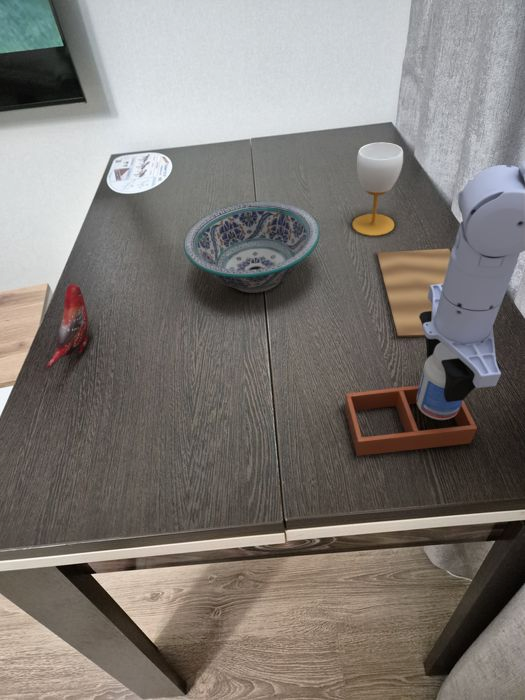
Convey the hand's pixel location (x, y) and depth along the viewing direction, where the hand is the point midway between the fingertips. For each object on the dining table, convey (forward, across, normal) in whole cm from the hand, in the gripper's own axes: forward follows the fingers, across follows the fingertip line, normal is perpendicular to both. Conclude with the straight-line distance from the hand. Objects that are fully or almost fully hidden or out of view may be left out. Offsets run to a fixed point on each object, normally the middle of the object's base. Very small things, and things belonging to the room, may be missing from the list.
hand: (444, 379), depth 54 cm
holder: (+9, 0, -4) cm, 10 cm away
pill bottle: (+5, 0, 0) cm, 5 cm away
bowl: (+9, -38, -22) cm, 45 cm away
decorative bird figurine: (+9, -21, -54) cm, 58 cm away
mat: (+9, -28, +8) cm, 30 cm away
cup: (+9, -52, +5) cm, 53 cm away
